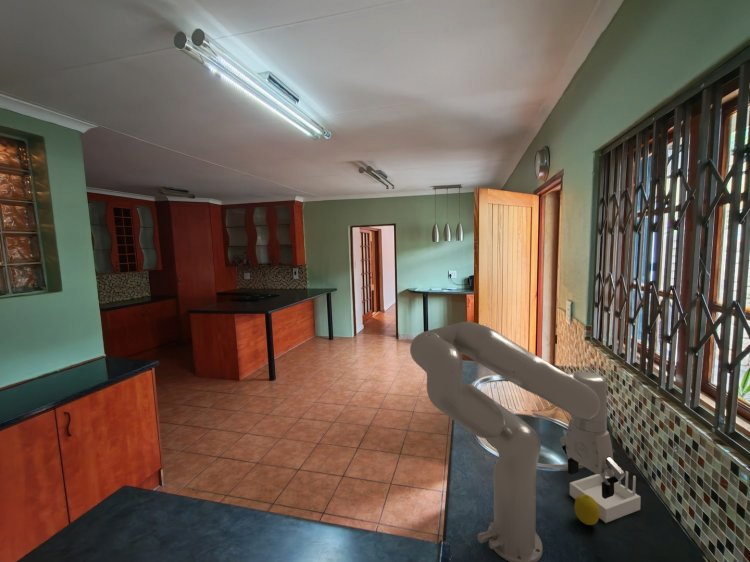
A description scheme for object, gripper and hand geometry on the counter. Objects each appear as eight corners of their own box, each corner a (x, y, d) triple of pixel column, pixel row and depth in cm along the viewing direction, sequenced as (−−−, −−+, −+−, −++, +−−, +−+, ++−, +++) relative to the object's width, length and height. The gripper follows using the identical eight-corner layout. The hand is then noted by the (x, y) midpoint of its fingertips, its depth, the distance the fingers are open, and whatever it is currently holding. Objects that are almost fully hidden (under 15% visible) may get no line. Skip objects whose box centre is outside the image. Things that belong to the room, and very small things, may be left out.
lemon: (603, 534, 85) (603, 504, 84) (579, 531, 86) (579, 501, 85) (593, 517, 90) (594, 489, 89) (570, 514, 91) (571, 486, 91)
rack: (605, 522, 88) (606, 491, 87) (569, 494, 98) (570, 466, 98) (640, 509, 92) (641, 479, 91) (602, 484, 103) (602, 456, 102)
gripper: (550, 410, 93) (551, 468, 94) (611, 442, 76) (612, 512, 78) (570, 404, 95) (571, 461, 97) (634, 434, 79) (634, 502, 80)
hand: (589, 484), depth 87 cm, fingers open, 9 cm apart
